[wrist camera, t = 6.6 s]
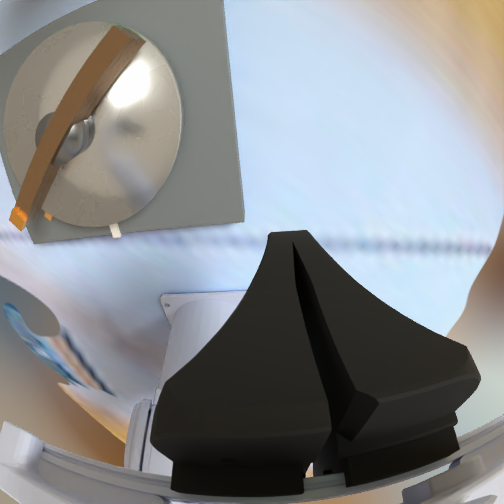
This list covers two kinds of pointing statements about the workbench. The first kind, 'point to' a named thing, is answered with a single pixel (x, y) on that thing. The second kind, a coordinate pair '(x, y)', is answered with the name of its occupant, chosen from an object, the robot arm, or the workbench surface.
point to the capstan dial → (92, 125)
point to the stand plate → (196, 116)
